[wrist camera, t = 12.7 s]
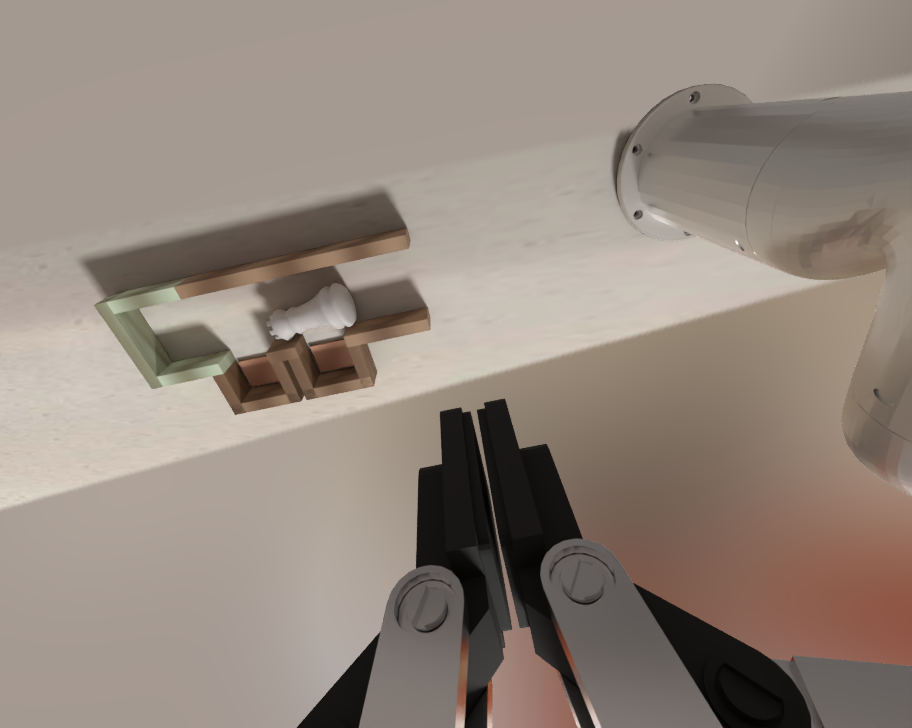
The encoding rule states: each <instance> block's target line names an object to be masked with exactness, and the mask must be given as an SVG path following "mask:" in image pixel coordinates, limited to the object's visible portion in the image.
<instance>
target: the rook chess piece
mask: <svg viewBox="0 0 912 728" xmlns="http://www.w3.org/2000/svg"><path fill="white" fill-rule="evenodd" d="M356 318H357V312H356V307H355V303H354V301H353V298H352V296H351V294H350V292H349V291H348V290H347V289H346V287H344V286H343V285H341V284H338V283H332V284H331V286H330V287H329V286H326V287H323V288H322V289H321V290H320V292H319V294H316V296H315V297H314V298H313V299H312V300H310V301H308V302H307V303H305V304H303V305H301V306H298V307H290V308H289V309H288V310H287V311H284V310H281V309H276V310H275V311H274V312H273V314H272V315H270V316H269V317H268V318H267V319H268V320H271V321H268V322H267V327H270V326H272V329H273V330H271V331H269V332H270V334H271V335H272V336H273V335H277V336H275V339H278V340H279V339H285V340H291V339H292V338H293V336H294V334H295V333H299V334H302V333H304V331H305V330H308V329H312V328H318V327H327V328H331V327H332V328H335V329H342V328H344V326H347V327H351V326H352V325H353V324H354V322H355V320H356Z"/></svg>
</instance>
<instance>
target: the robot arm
mask: <svg viewBox="0 0 912 728" xmlns="http://www.w3.org/2000/svg"><path fill="white" fill-rule="evenodd" d="M690 95H691V97H692V98H691V100H689V98H690ZM634 146H635V151H634V152H633V153H632V149H633V147H634ZM617 194H618V199H619V203H620V207H621V209H622V211H623V213H624V215H625V217H626V218H627V219H628V221H629V222H630V223H631V225H632V226H633V227H635V228H636V229H637V230H639V231H640V232H641V233H643V234H645V235H647V236H649V237H652V238H655V239H658V240H662V241H681V240H687V239H690V238H694V237H699V238H702V239H704V240H707V241H709V242H711V243H714V244H716V245H719V246H721V247H724V248H726V249H729V250H731V251H733V252H736V253H738V254H741V255H743V256H746V257H748V258H750V259H753V260H755V261H758V262H760V263H763V264H765V265H768V266H770V267H772V268H775V269H778V270H780V271H783V272H785V273H788V274H791V275H794V276H798V277H801V278H807V279H814V280H838V279H846V278H852V277H856V276H861V275H866V274H870V273H873V272H877V271H880V270H883V269H886V274H885V280H884V283H883V286H882V289H881V292H880V296H879V298H878V301H877V304H876V311H875V314H874V317H873V320H872V323H871V325H870V328H869V331H868V334H867V336H866V339H865V342H864V345H863V347H862V350H861V353H860V356H859V359H858V361H857V364H856V367H855V370H854V372H853V375H852V378H851V383H850V385H849V388H848V391H847V394H846V398H845V402H844V406H843V411H842V431H843V434H844V437H845V440H846V443H847V445H848V447H849V448H850V450H851V451H852V453H853V454H854V455H855V457H856V458H857V459H858V460H859V461H860V462H861V463H862V464H863V465H864V466H865V467H866V468H867V469H869V470H870V471H871V472H872V473H873V474H875V475H876V476H877V477H879V478H880V479H882V480H883V481H885V482H887V483H888V484H890V485H892V486H893V487H895V488H896V489H898V490H900V491H902V492H904V493H906V494H908V495H910V496H912V91H909V92H897V93H884V94H871V95H860V96H847V97H831V98H818V99H804V100H791V101H777V102H764V103H752V102H751V101H750V100H749V99H748V98H747V97H746V96H745V95H744V94H743V93H741V92H739V91H738V90H736V89H734V88H732V87H728V86H725V85H721V84H704V85H698V86H692V87H689V88H686V89H684V90H680V91H678V92H676V93H674V94H672V95H670V96H669V97H667V98H665V99H663V100H662V101H661V102H660V103H659V104H657V105H656V106H655V107H654V108H652V109H651V110H650V111H649V112H648V113H647V114H646V115H645V116H644V118H643V119H642V120H641V121H640V122H639V123H638V125H637V126H636V128H635V129H634V131H633V132H632V134H631V135H630V137H629V139H628V141H627V143H626V146H625V148H624V150H623V153H622V156H621V159H620V163H619V167H618V174H617ZM635 212H637V213H636V215H634V213H635ZM484 405H485V408H484V409H479V410H477V413H478V419H479V425H480V431H481V437H482V443H483V448H484V454H485V460H486V465H487V471H488V477H489V482H490V489H491V495H492V500H493V505H494V512H495V517H496V523H497V529H498V534H499V539H500V544H501V549H502V553H503V558H504V562H505V566H506V570H507V574H508V579H509V583H510V587H511V592H512V596H513V600H514V605H515V609H516V613H517V617H518V621H519V626H520V628H524V627H530V629H531V634H532V639H533V643H534V648H535V653H536V654H537V655H538V656H540V657H541V658H542V659H544V660H545V661H546V662H547V663H549V664H550V665H551V666H553V667H554V668H555V669H557V674H558V677H559V679H560V682H561V685H562V687H563V690H564V693H565V695H566V698H567V701H568V703H569V706H570V709H571V711H572V714H573V717H574V719H575V722H576V725H577V727H578V728H912V666H905V665H893V664H882V663H871V662H860V661H848V660H837V659H825V658H814V657H803V656H792V658H791V660H790V661H786V660H776V659H769V658H768V657H767V656H765V655H764V654H762V653H761V652H759V651H757V650H756V649H754V648H752V647H750V646H748V645H746V644H745V643H743V642H741V641H739V640H737V639H735V638H733V637H732V636H730V635H728V634H726V633H724V632H723V631H721V630H718V629H717V628H715V627H713V626H711V625H709V624H708V623H706V622H704V621H702V620H700V619H699V618H697V617H695V616H693V615H691V614H689V613H688V612H686V611H684V610H682V609H680V608H678V607H676V606H675V605H673V604H671V603H669V602H667V601H666V600H664V599H662V598H660V597H658V596H656V595H654V594H653V593H651V592H649V591H647V590H645V589H643V588H642V587H640V586H638V585H636V584H634V583H632V581H631V579H630V578H629V576H628V575H627V573H626V571H625V570H624V568H623V567H622V565H621V563H620V562H619V561H618V559H617V558H616V557H615V556H614V555H613V553H612V552H611V551H609V550H608V549H607V548H605V547H604V546H602V545H601V544H599V543H596V542H593V541H590V540H585V539H583V538H582V535H581V533H580V530H579V527H578V525H577V522H576V520H575V517H574V514H573V511H572V509H571V506H570V504H569V501H568V498H567V496H566V493H565V490H564V487H563V485H562V482H561V479H560V477H559V474H558V471H557V469H556V466H555V463H554V461H553V459H552V456H551V453H550V450H549V448H548V446H547V444H543V445H538V446H532V447H527V448H522V449H519V446H518V443H517V440H516V436H515V432H514V429H513V425H512V422H511V418H510V415H509V411H508V408H507V404H506V401H505V399H500V400H495V401H490V402H485V403H484ZM440 425H441V448H442V464H440V465H435V466H430V467H425V468H420V470H419V479H418V515H417V552H416V553H417V554H416V569H415V570H412V571H410V572H409V573H407V574H406V575H405V576H404V577H403V578H401V579H400V580H399V581H398V583H397V584H396V585H395V587H394V588H393V590H392V591H391V594H390V596H389V599H388V602H387V605H386V610H385V614H384V618H383V623H382V628H381V631H380V633H379V634H378V635H377V636H376V637H375V638H374V639H373V641H372V642H371V643H370V644H369V645H368V646H367V648H366V649H365V650H364V651H363V652H362V653H361V654H360V656H359V657H358V658H357V659H356V660H355V661H354V662H353V664H352V665H351V666H350V667H349V668H348V669H347V670H346V672H345V673H344V674H343V675H342V676H341V677H340V679H339V680H338V681H337V682H336V683H335V684H334V685H333V687H332V688H331V689H330V690H329V691H328V692H327V693H326V695H325V696H324V697H323V698H322V699H321V700H320V702H319V703H318V704H317V705H316V706H315V707H314V708H313V710H312V711H311V712H310V713H309V714H308V715H307V717H306V718H305V719H304V720H303V721H302V722H301V723H300V724H299V726H298V727H297V728H492V707H493V706H492V705H493V704H492V703H493V698H492V697H493V684H492V676H493V675H494V673H495V672H496V670H497V669H498V667H499V666H500V664H501V663H502V661H503V659H504V656H503V649H502V648H505V642H504V636H503V631H507V630H512V626H511V619H510V613H509V607H508V602H507V595H506V589H505V583H504V577H503V572H502V565H501V559H500V554H499V548H498V541H497V535H496V530H495V524H494V518H493V512H492V506H491V500H490V494H489V489H488V485H487V480H486V476H485V472H484V468H483V463H482V459H481V454H480V450H479V446H478V441H477V437H476V433H475V429H474V425H473V420H472V416H471V412H470V411H469V412H464V413H463V412H462V409H461V408H455V409H451V410H446V411H441V412H440Z"/></svg>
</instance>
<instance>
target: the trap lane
mask: <svg viewBox="0 0 912 728" xmlns="http://www.w3.org/2000/svg"><path fill="white" fill-rule="evenodd" d="M409 246H410V237H409V233H408V229H407V228H403V229H399V230H394V231H390V232H385V233H381V234H377V235H372V236H368V237H363V238H359V239H354V240H350V241H346V242H341V243H337V244H332V245H328V246H323V247H319V248H315V249H310V250H306V251H301V252H297V253H292V254H288V255H284V256H279V257H275V258H270V259H266V260H261V261H257V262H253V263H248V264H244V265H239V266H235V267H230V268H226V269H221V270H217V271H213V272H208V273H204V274H199V275H195V276H190V277H186V278H182V279H177V280H173V281H168V282H164V283H159V284H155V285H151V286H146V287H142V288H137V289H133V290H128V291H124V292H120V293H115V294H113V295H112V296H110V297H108V298H106V299H104V300H102V301H100V302H98V303H97V304H95V305H94V306H95V307H96V309H97V310H98V312H99V313H100V315H101V316H102V318H103V319H104V320H105V322H106V323H107V325H108V326H109V328H110V329H111V330H112V332H113V333H114V335H115V336H116V338H117V339H118V341H119V342H120V343H121V345H122V346H123V348H124V349H125V351H126V352H127V353H128V355H129V356H130V358H131V359H132V361H133V362H134V364H135V365H136V366H137V368H138V369H139V371H140V372H141V374H142V375H143V377H144V378H145V379H146V381H147V382H148V384H149V385H150V387H151V388H152V389H155V388H159V387H164V386H169V385H173V384H178V383H183V382H188V381H192V380H197V379H202V378H206V377H211V376H213V378H214V380H215V381H216V383H217V385H218V386H219V388H220V390H221V391H222V393H223V395H224V396H225V398H226V400H227V402H228V403H229V405H230V407H231V408H232V410H233V412H234V413H235V415H237V414H242V413H246V412H251V411H256V410H261V409H266V408H271V407H275V406H280V405H285V404H290V403H295V402H300V401H302V399H303V397H304V395H305V397H306V399H307V400H309V399H314V398H319V397H324V396H329V395H333V394H338V393H343V392H348V391H353V390H358V389H362V388H367V387H372V386H374V384H375V379H376V374H377V370H376V367H375V364H374V362H373V359H372V356H371V353H370V350H369V347H368V345H367V343H371V342H376V341H381V340H385V339H390V338H395V337H399V336H404V335H409V334H414V333H418V332H423V331H428V330H430V315H429V311H428V307H427V308H422V309H418V310H413V311H408V312H404V313H399V314H394V315H390V316H385V317H380V318H376V319H371V320H367V321H362V322H357V323H354V324H353V325H352V326H351V327H347V329H346V332H345V334H344V339H341V340H336V341H332V342H327V343H322V344H318V345H313V346H310V349H311V351H312V353H313V355H314V358H315V360H316V362H317V365H318V367H319V369H320V372H325V371H330V370H335V369H339V368H344V367H349V366H355V367H350V368H345V369H340V370H336V371H331V372H326V373H321V374H320V373H319V371H318V368H317V366H316V364H315V362H314V359H313V357H312V355H311V352H310V350H309V348H308V346H307V343H306V341H305V339H304V336H303V334H301V335H297V336H293V338H292V339H291V340H285V339H279V340H275V341H274V343H273V344H272V345H271V347H270V348H269V350H268V351H267V352H266V356H262V357H257V358H252V359H247V360H243V361H239V362H238V363H239V365H240V366H241V368H242V370H243V372H244V374H245V376H246V377H247V379H248V381H249V383H250V385H251V387H254V386H258V385H263V384H268V383H273V382H277V381H280V382H278V383H274V384H269V385H264V386H259V387H255V388H251V387H250V385H249V383H248V381H247V379H246V378H245V376H244V374H243V372H242V370H241V368H240V367H239V365H238V363H237V361H236V359H235V357H234V356H233V354H232V352H231V350H227V351H222V352H218V353H213V354H209V355H204V356H199V357H195V358H190V359H185V360H181V361H176V362H172V361H171V359H170V357H169V356H168V354H167V353H166V351H165V350H164V348H163V347H162V345H161V343H160V342H159V340H158V339H157V337H156V336H155V334H154V332H153V331H152V329H151V328H150V326H149V325H148V323H147V322H146V320H145V318H144V317H143V315H142V314H141V312H140V311H139V308H144V307H148V306H153V305H157V304H162V303H166V302H171V301H175V300H180V299H184V298H189V297H193V296H198V295H202V294H207V293H211V292H216V291H220V290H225V289H229V288H234V287H238V286H243V285H247V284H252V283H256V282H261V281H265V280H270V279H274V278H278V277H283V276H287V275H292V274H296V273H301V272H305V271H310V270H314V269H319V268H323V267H328V266H332V265H337V264H341V263H346V262H350V261H355V260H359V259H364V258H368V257H373V256H377V255H382V254H386V253H391V252H395V251H400V250H404V249H408V248H409Z"/></svg>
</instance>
